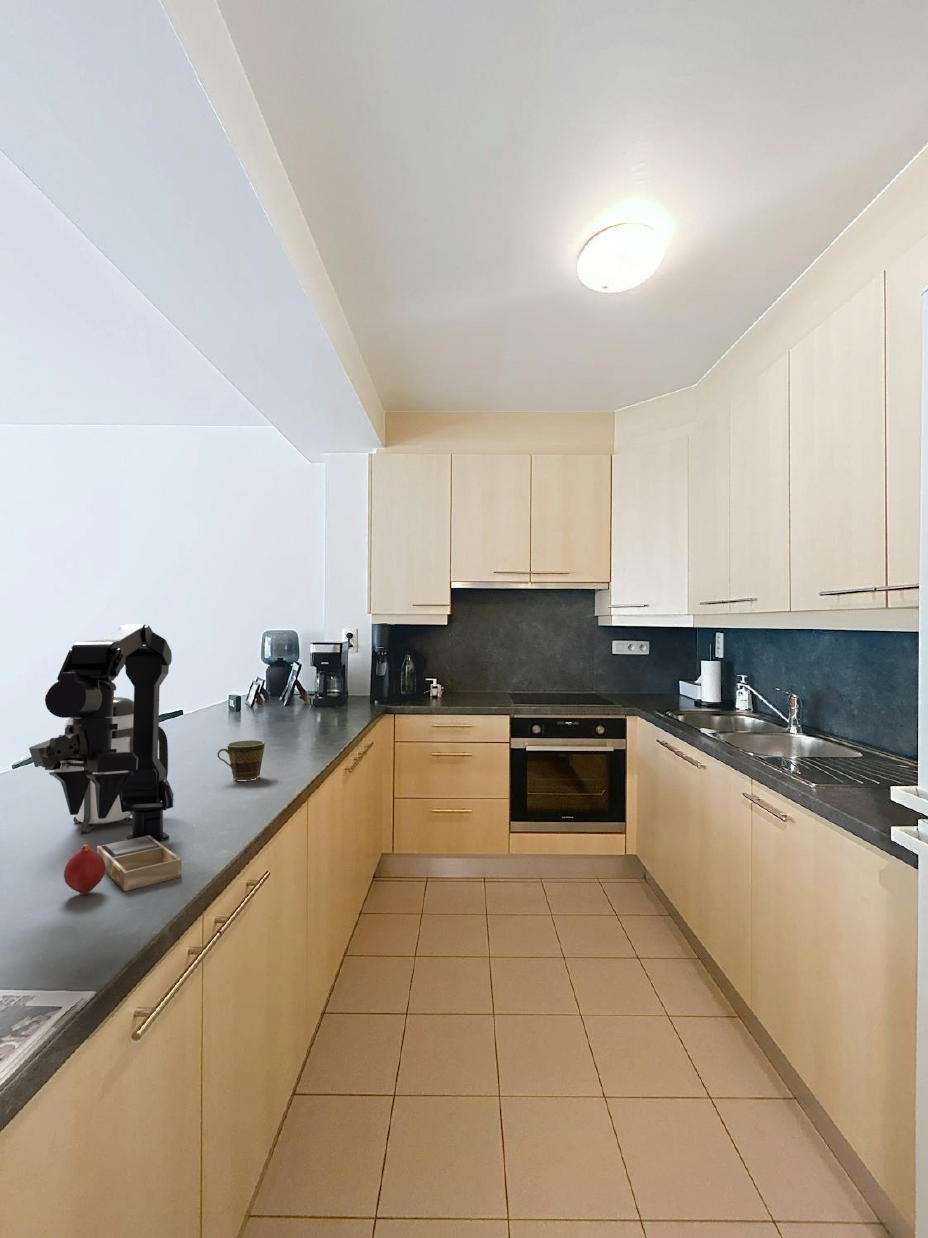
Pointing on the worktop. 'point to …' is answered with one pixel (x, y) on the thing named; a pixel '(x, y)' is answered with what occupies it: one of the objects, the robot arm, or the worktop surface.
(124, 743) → the coffee press
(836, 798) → the worktop surface
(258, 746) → the ceramic cup
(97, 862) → the red rounded piece
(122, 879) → the wooden compartment tray
